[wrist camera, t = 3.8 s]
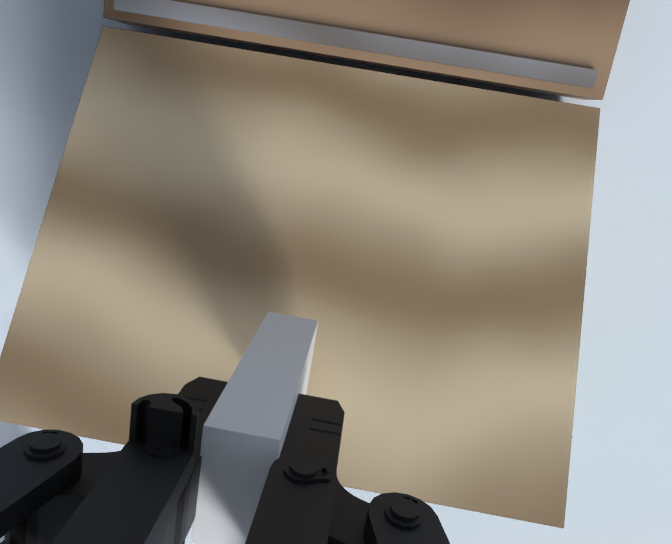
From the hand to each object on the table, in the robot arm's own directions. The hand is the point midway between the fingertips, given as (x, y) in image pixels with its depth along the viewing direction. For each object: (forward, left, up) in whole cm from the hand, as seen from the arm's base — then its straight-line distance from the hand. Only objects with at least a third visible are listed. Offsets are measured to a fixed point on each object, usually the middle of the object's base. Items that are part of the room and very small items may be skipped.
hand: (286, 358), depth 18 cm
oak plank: (-2, 0, -5) cm, 5 cm away
